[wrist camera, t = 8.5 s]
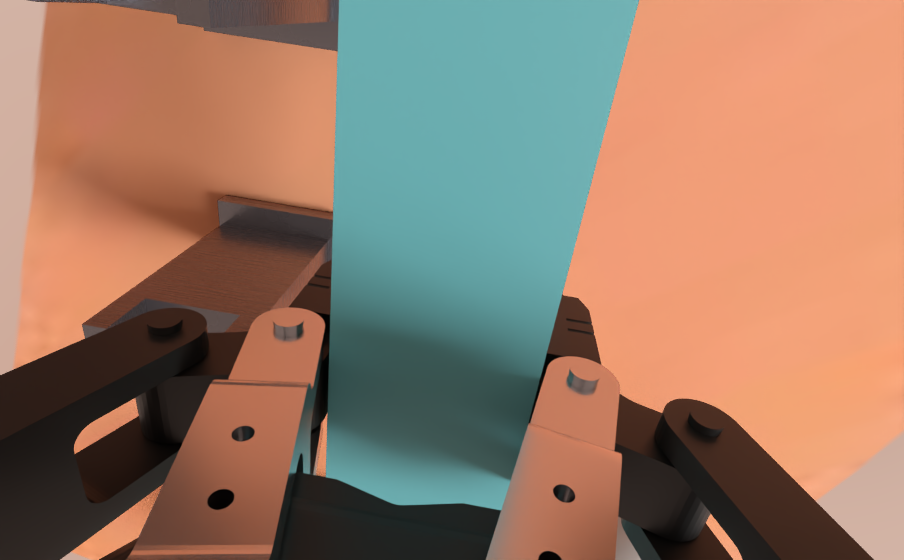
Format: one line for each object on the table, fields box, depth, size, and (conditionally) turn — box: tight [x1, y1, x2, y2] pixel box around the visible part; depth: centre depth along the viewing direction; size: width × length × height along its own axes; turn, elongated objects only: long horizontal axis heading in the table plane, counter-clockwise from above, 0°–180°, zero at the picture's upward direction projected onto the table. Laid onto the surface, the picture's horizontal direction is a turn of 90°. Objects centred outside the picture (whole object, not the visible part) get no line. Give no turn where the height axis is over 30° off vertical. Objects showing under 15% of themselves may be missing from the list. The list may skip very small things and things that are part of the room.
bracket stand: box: [30, 0, 339, 339], centre depth 24 cm, size 19×7×12 cm, turn 173°
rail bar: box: [326, 0, 639, 510], centre depth 11 cm, size 20×4×4 cm, turn 173°
